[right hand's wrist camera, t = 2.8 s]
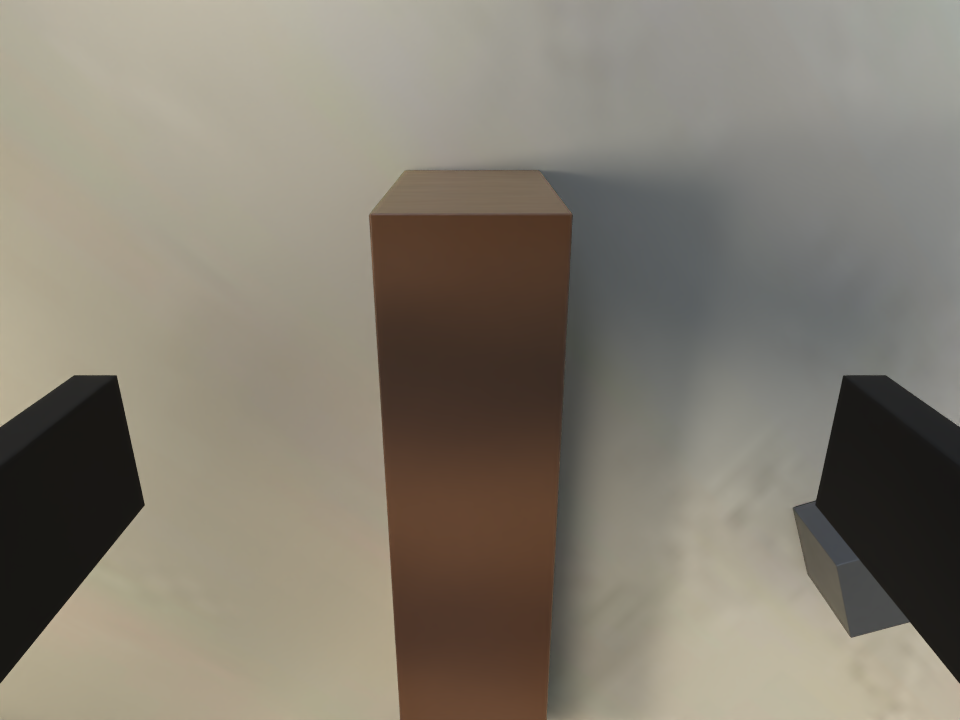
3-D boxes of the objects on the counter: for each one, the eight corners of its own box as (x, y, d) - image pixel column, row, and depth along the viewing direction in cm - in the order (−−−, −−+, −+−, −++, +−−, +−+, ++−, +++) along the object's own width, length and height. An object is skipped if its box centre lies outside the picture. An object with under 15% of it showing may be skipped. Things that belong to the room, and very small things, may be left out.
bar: (522, 692, 35) (538, 884, 26) (425, 692, 35) (410, 885, 26) (539, 170, 25) (573, 213, 17) (404, 170, 25) (368, 213, 16)
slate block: (807, 574, 32) (851, 638, 28) (792, 507, 31) (836, 565, 27) (893, 550, 31) (949, 612, 28) (881, 481, 30) (939, 536, 26)
